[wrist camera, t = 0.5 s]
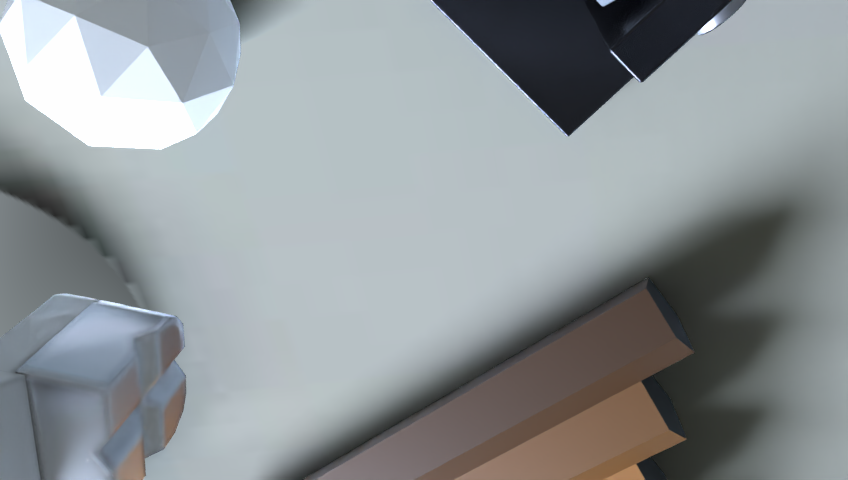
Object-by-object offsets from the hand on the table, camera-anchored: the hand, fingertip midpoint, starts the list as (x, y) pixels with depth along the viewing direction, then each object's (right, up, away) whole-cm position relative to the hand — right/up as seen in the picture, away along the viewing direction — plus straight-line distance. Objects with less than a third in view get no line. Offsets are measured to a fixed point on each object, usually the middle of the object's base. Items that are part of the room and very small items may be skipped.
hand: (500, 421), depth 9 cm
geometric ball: (-11, +11, +21) cm, 26 cm away
